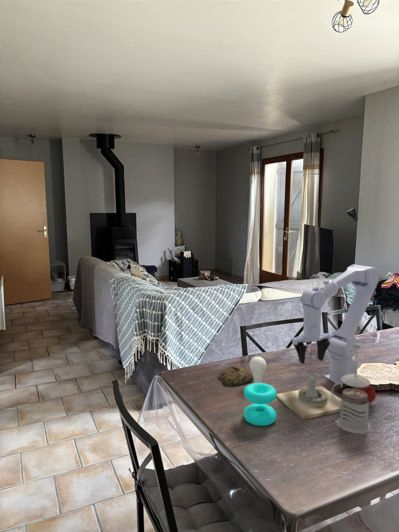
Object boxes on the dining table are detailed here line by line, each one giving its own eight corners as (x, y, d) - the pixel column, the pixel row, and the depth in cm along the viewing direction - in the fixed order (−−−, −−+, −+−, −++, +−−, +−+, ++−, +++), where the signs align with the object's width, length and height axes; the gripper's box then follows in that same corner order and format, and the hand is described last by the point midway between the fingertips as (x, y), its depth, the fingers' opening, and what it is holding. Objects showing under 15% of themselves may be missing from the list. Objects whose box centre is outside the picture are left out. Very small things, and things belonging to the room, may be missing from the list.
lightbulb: (265, 390, 143) (266, 360, 142) (248, 389, 145) (248, 359, 143) (266, 383, 149) (266, 354, 148) (250, 381, 151) (250, 353, 149)
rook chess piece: (302, 396, 136) (302, 374, 135) (314, 395, 137) (315, 373, 135) (307, 402, 132) (307, 379, 130) (320, 401, 132) (321, 378, 131)
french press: (368, 437, 113) (372, 351, 110) (326, 426, 120) (328, 344, 116) (374, 421, 122) (378, 341, 118) (334, 411, 128) (337, 335, 124)
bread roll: (257, 383, 150) (257, 370, 149) (226, 388, 146) (226, 375, 145) (242, 370, 162) (242, 358, 161) (213, 375, 158) (213, 363, 157)
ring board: (321, 388, 144) (321, 380, 144) (351, 409, 129) (351, 400, 129) (276, 396, 138) (276, 388, 138) (302, 419, 123) (303, 410, 123)
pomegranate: (374, 401, 134) (375, 378, 133) (375, 409, 129) (377, 385, 127) (355, 398, 136) (356, 376, 135) (356, 406, 131) (357, 383, 129)
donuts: (237, 386, 124) (261, 378, 130) (237, 416, 126) (261, 407, 131) (258, 399, 116) (283, 390, 121) (258, 431, 117) (283, 421, 123)
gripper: (322, 319, 148) (321, 354, 150) (287, 323, 143) (287, 360, 145) (334, 324, 141) (333, 361, 143) (298, 328, 136) (298, 367, 138)
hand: (311, 361), depth 144 cm, fingers open, 7 cm apart
